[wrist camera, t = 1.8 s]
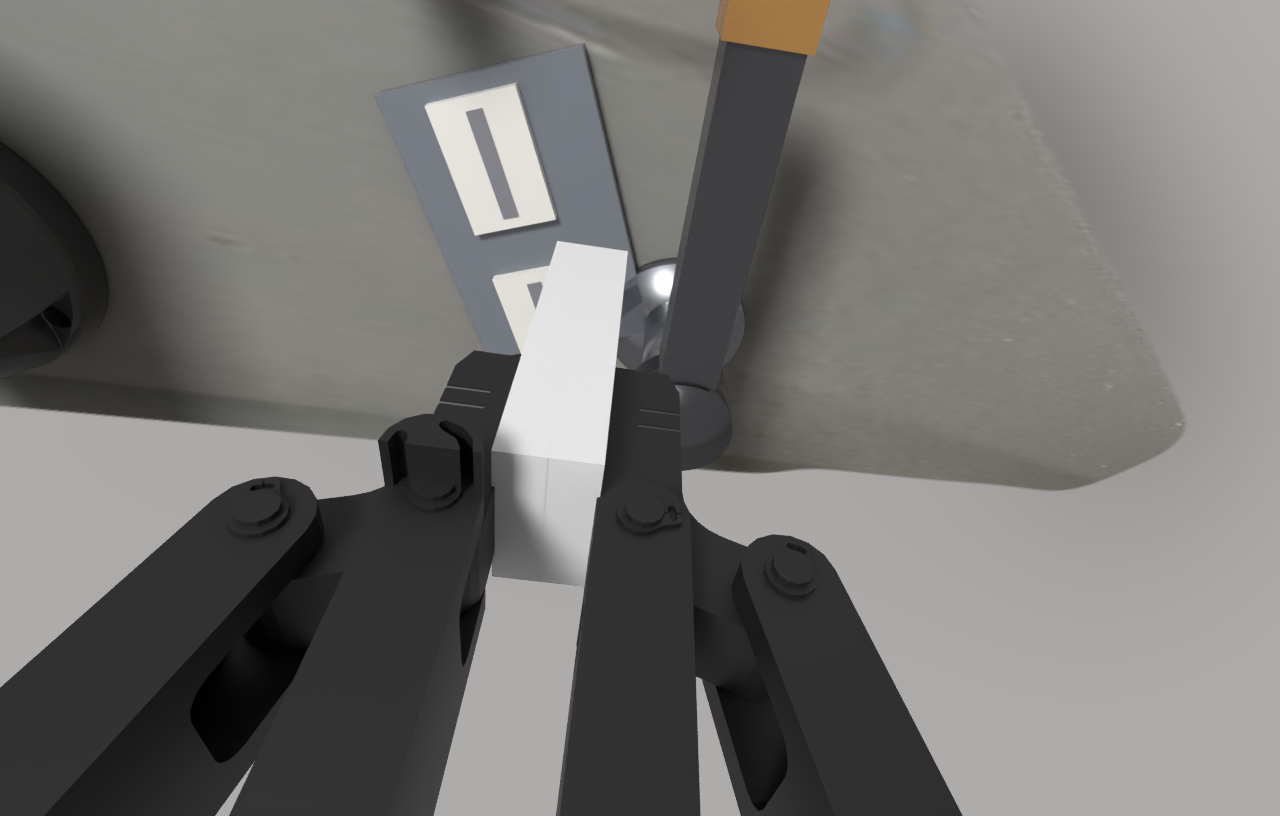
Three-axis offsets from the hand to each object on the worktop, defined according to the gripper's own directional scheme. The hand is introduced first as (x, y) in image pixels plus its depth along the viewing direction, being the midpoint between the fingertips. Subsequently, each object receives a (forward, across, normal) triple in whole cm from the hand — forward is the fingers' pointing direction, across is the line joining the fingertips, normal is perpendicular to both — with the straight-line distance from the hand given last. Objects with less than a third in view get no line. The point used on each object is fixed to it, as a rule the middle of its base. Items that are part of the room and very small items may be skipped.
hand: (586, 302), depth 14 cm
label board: (+20, -4, -7) cm, 22 cm away
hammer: (+13, +4, -4) cm, 15 cm away
